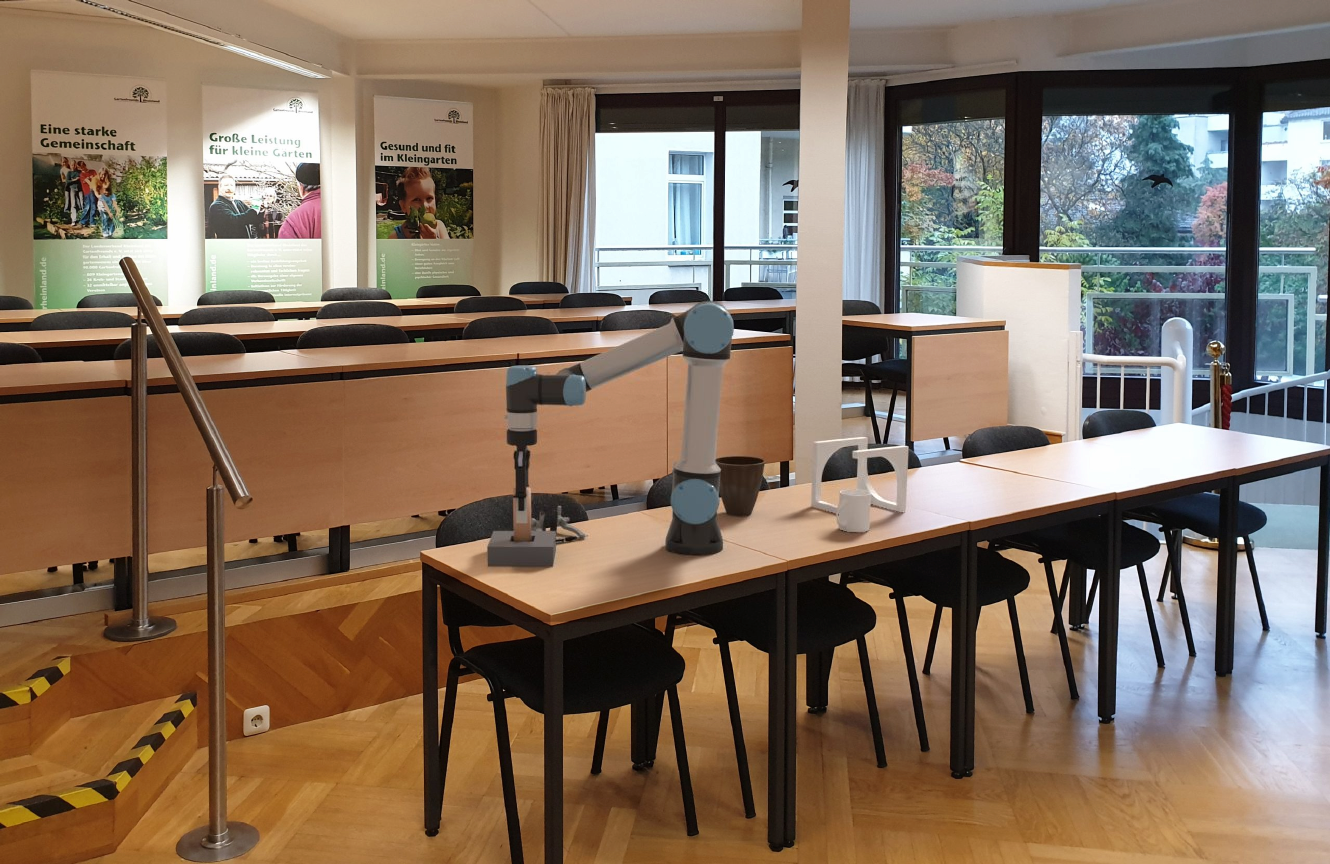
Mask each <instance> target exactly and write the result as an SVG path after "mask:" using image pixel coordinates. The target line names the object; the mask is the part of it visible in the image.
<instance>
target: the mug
mask: <svg viewBox="0 0 1330 864" xmlns="http://www.w3.org/2000/svg"><path fill="white" fill-rule="evenodd" d="M838 496H839V500H838V502H839V503H838V505H837V506H838V507H837V512H836V514H835V515H836V516H835V517H836V523H837V525H838V529H839V530H840V531H841V530H843V531H842V532H844V531H847V532H846V533H849V532H863V533H866V531H867V532H868V531H870V530H869V529H870V525H871V524H870V521H871V504H870V501H871V493H870V492H869V491H865V490H858V489H857V488H855V489H853V488H850V489H842V490H840V491H839V495H838ZM838 513H839V515H838Z"/></svg>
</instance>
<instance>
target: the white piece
mask: <svg viewBox="0 0 1330 864" xmlns="http://www.w3.org/2000/svg"><path fill="white" fill-rule="evenodd" d="M868 440H869V437H865V436H859V437H857V436H856V437H849V438H848V437H847V438H838V439H829V440H818V441H817V440H816V441H813V442H812V463H811V464H812V465H811V467H812V471H811V497H810V499H811V501H810V506H811V508H816V509H818V508H819V509H818V510H821V509H822V511H825V510H826V511H825V512H828V511H829V512H828V513H831V512H833V513H832V514H834V513H836V512H837V507H838V505H837V504H833V503H829V502H826V501H822V498H821V497H822V478H823V477H822V476H823V472H824V468H825V466H826V464H827V462H828V461H829V459H830V458H831V457H832V455H833V454H834V453H836V452H837V451H838V450H840V449H843V448H845V447H852V446H857V450H852V456H851V458H852V459H857V470H856V471H857V472H856V474H857V475H856V489H858V490H865V491H869V492H870V493H871V501H870V505H871V504H873V505H872V506H875V505H877V506H876V507H878V506H879V507H878V508H882V507H883V509H885V508H887V510H889V509H891V510H890V511H892V510H896V511H899V512H903V511H906V510H907V491H908V489H907V487H908V470H909V469H908V468H909V467H908V466H909V446H907V445H898V446H896V445H895V446H887V447H879V448H869V449H868V445H869V443H868V442H869V441H868ZM877 457H881V458H885V459H886V460H887V461H888V462H889V463H890V465H891V466H892V467H893V469H894V472H895V474H896V484H897V485H896V502H895V501H894V502H893V501H891V500H886V499H884V498H883V497H881V496H880V495H879V494H878V493H877V492H876V491H875V489H874V488H873V486H872V484H871V482H870V478H869V474H868V458H877ZM896 511H895V512H896ZM899 512H898V513H899ZM903 513H904V512H903ZM838 514H839V513H838Z"/></svg>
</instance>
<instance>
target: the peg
mask: <svg viewBox="0 0 1330 864" xmlns="http://www.w3.org/2000/svg"><path fill="white" fill-rule="evenodd" d="M512 491H513V492H512V496H513V495H515V493H516V487H514V488H513V490H512ZM526 494H527V496H526V497H527V523H516V498H513V497H512V500H513V501H512V502H513V504H512V508H513V509H512V510H513V512H512V513H513V514H512V515H513V531H514V542H531V531H532V530H531V518H532V488H531V487H530V486H529V487H526Z"/></svg>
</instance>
